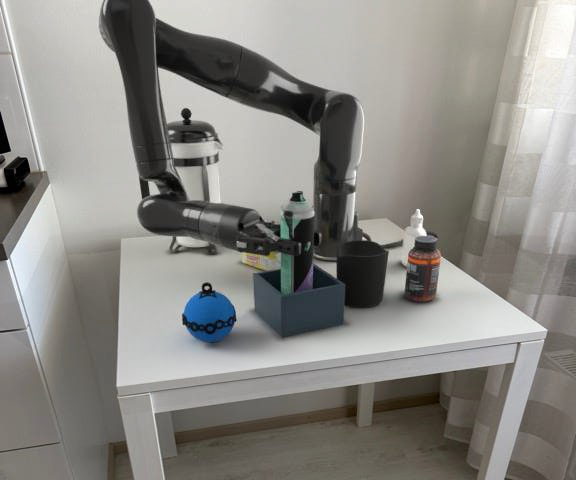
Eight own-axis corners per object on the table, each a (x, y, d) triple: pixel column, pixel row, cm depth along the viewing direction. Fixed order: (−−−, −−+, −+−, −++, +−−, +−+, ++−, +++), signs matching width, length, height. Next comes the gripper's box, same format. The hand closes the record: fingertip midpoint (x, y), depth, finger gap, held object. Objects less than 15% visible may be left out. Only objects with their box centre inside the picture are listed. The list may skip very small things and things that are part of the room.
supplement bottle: (437, 292, 109) (445, 235, 103) (433, 304, 104) (441, 245, 98) (406, 289, 111) (412, 232, 105) (401, 300, 106) (407, 241, 100)
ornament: (235, 326, 97) (231, 271, 92) (239, 349, 90) (235, 291, 84) (185, 330, 96) (178, 275, 91) (185, 354, 89) (178, 295, 83)
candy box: (300, 278, 116) (300, 239, 112) (293, 281, 115) (292, 241, 110) (248, 260, 126) (246, 223, 121) (241, 262, 125) (239, 225, 120)
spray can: (309, 315, 96) (311, 196, 86) (278, 313, 97) (277, 195, 87) (314, 303, 101) (317, 188, 90) (284, 300, 102) (284, 186, 91)
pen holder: (390, 294, 108) (394, 243, 103) (376, 313, 101) (380, 259, 96) (344, 287, 112) (346, 237, 107) (327, 304, 104) (329, 252, 99)
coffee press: (212, 232, 144) (201, 102, 128) (240, 249, 132) (232, 108, 117) (147, 244, 137) (127, 107, 121) (171, 263, 125) (152, 114, 109)
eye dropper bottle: (402, 269, 120) (408, 213, 114) (400, 260, 125) (406, 206, 118) (423, 270, 120) (430, 213, 113) (420, 261, 124) (427, 206, 118)
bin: (312, 299, 107) (312, 262, 103) (343, 324, 97) (345, 284, 94) (254, 311, 102) (252, 273, 99) (281, 337, 93) (280, 297, 89)
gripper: (201, 214, 93) (285, 232, 84) (254, 197, 103) (334, 211, 94) (205, 258, 97) (285, 279, 88) (256, 237, 107) (332, 254, 98)
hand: (310, 244), depth 91 cm, fingers closed on spray can, 5 cm apart
